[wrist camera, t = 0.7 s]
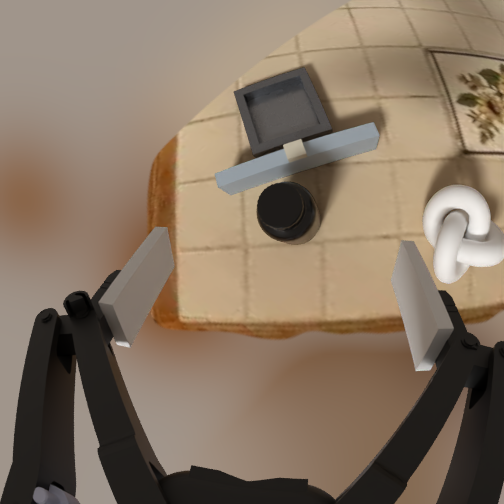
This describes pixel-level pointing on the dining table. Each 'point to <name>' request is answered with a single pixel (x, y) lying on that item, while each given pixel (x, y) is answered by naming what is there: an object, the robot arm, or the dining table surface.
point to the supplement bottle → (288, 213)
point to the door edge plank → (298, 158)
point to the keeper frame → (281, 112)
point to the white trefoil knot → (461, 232)
